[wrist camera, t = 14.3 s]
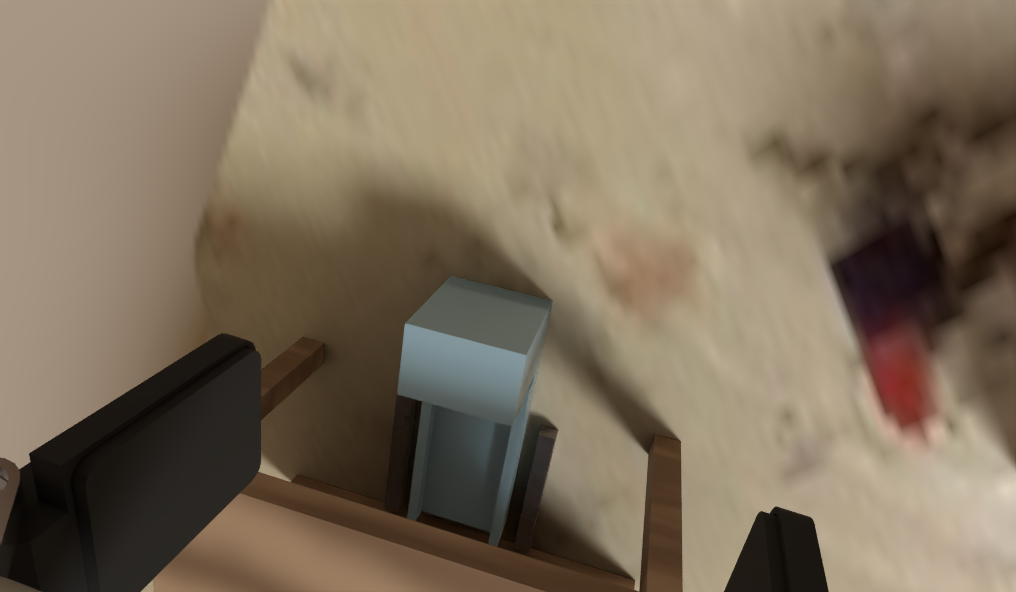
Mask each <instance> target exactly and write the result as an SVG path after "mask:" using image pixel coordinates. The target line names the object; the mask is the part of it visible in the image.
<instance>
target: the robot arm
mask: <svg viewBox="0 0 1016 592" xmlns="http://www.w3.org/2000/svg"><path fill="white" fill-rule="evenodd" d="M29 456H30V461H31V462H30V463H29V464H27V465H25V466H24V467H23V468H21V469H18V467H17V466H16V464H15V463H13V462H11V461H9V460H7V459H5V458H0V592H141V591H142V590H143V589H144V588H145V587H146V586H147V585H148V584H149V583H150V582H151V581H152V580H153V579H154V578H155V577H156V576H157V575H158V574H159V573H160V572H161V571H162V570H163V569H164V568H165V567H166V566H167V565H168V564H169V563H170V562H171V561H172V560H173V559H174V558H175V557H176V556H177V555H178V554H179V553H180V552H181V551H182V550H183V549H184V548H185V547H186V546H187V545H188V544H189V543H190V542H191V541H192V540H193V539H194V538H195V537H196V536H197V535H198V534H199V533H200V532H201V531H202V530H203V529H204V528H205V527H206V526H207V525H208V524H209V523H210V522H211V521H212V520H213V519H214V518H215V517H216V516H217V515H218V514H219V513H220V512H221V511H222V510H223V509H224V508H225V507H226V506H227V505H228V504H229V503H230V502H231V501H232V500H233V499H234V498H235V497H236V496H237V495H238V494H239V493H240V492H241V491H242V490H244V489H245V488H246V487H247V486H248V485H249V484H250V483H251V482H252V480H253V479H254V478H255V476H256V475H257V473H258V471H259V468H260V464H261V356H260V354H259V352H257V351H256V350H255V346H254V344H253V343H252V342H250V341H248V340H244V339H241V338H238V337H235V336H232V335H229V334H220V335H217V336H216V337H214V338H213V339H211V340H209V341H208V342H206V343H205V344H203V345H201V346H200V347H198V348H197V349H195V350H193V351H192V352H190V353H189V354H187V355H185V356H184V357H182V358H181V359H179V360H177V361H176V362H174V363H173V364H171V365H170V366H168V367H166V368H165V369H163V370H162V371H160V372H159V373H157V374H155V375H154V376H152V377H150V378H149V379H147V380H146V381H144V382H143V383H141V384H139V385H138V386H136V387H134V388H133V389H131V390H130V391H128V392H126V393H125V394H123V395H122V396H120V397H118V398H117V399H115V400H114V401H112V402H110V403H109V404H107V405H106V406H104V407H103V408H101V409H99V410H98V411H96V412H95V413H93V414H91V415H90V416H88V417H87V418H85V419H83V420H82V421H80V422H79V423H77V424H75V425H74V426H72V427H71V428H69V429H67V430H66V431H64V432H63V433H61V434H60V435H58V436H56V437H55V438H53V439H52V440H50V441H48V442H47V443H45V444H44V445H42V446H40V447H39V448H37V449H36V450H34V451H32V452H31V453H29ZM724 592H829V591H828V586H827V582H826V577H825V572H824V567H823V563H822V558H821V553H820V548H819V543H818V539H817V534H816V529H815V524H814V521H813V519H812V518H811V517H808V516H805V515H802V514H798V513H795V512H792V511H789V510H786V509H783V508H779V507H774V508H773V509H772V511H771V512H770V514H769V513H765V512H762V511H761V512H759V513H758V515H757V517H756V519H755V521H754V524H753V526H752V528H751V531H750V533H749V535H748V537H747V540H746V542H745V544H744V547H743V549H742V551H741V554H740V556H739V558H738V561H737V563H736V565H735V567H734V570H733V572H732V574H731V577H730V579H729V581H728V584H727V586H726V588H725V591H724Z"/></svg>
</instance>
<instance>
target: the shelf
mask: <svg viewBox="0 0 1016 592" xmlns="http://www.w3.org/2000/svg"><path fill="white" fill-rule="evenodd" d="M323 354H324V343H321V342H318V341H314V340H310V339H307V338H303V337H302V338H301V339H300V340H299V341H297V342H296V343H295V344H293V345H292V346H291V347H290V348H288V349H287V350H286V351H285V352H283V353H282V354H281V355H280V356H278V357H277V358H276V359H275V360H273V361H272V362H271V363H269V364H268V365H267V366H266V367H264V368H263V369H262V370H261V420H262V419H263V418H264V417H265V416H266V415H267V414H268V413H270V412H271V411H272V410H273V409H274V408H275V407H276V406H277V405H278V404H279V403H281V402H282V401H283V400H284V399H285V398H286V397H287V396H288V395H289V394H290V393H292V392H293V391H294V390H295V389H296V388H297V387H298V386H299V385H300V384H301V383H302V382H304V381H305V380H306V379H307V378H308V377H309V376H310V375H311V374H312V373H313V372H315V371H316V370H317V369H318V368H319V367H320V366H321V365H322V364H323ZM416 404H417V400H416V399H412V398H409V397H405V396H402V395H398V394H397V398H396V407H395V416H394V425H393V434H392V443H391V452H390V461H389V470H388V479H387V487H386V496H385V502H382V501H379V500H375V499H372V498H369V497H366V496H362V495H359V494H356V493H353V492H350V491H346V490H343V489H340V488H337V487H334V486H330V485H327V484H324V483H321V482H318V481H314V480H311V479H308V478H305V477H302V476H298V475H296V476H295V478H294V479H293V480H292V481H291V482H289V481H285V480H282V479H279V478H276V477H273V476H269V475H266V474H263V473H260V472H258V473H257V475H256V476H255V478H254V479H253V480H252V482H251V483H250V484H249V485H248V486H247V487H246V488H245V489H244V490H242V491H241V492H240V493H239V494H238V495H237V496H236V497H235V498H234V499H233V500H232V501H231V502H230V503H229V504H228V505H227V506H226V507H225V508H224V509H223V510H222V511H221V512H220V513H219V514H218V515H217V516H216V517H215V518H214V519H213V520H212V521H211V522H210V523H209V524H208V525H207V526H206V527H205V528H204V529H203V530H202V531H201V532H200V533H199V534H198V535H197V536H196V537H195V538H194V539H193V540H192V541H191V542H190V543H189V544H188V545H187V546H186V547H185V548H184V549H183V550H182V551H181V552H180V553H179V554H178V555H177V556H176V557H175V558H174V559H173V560H172V561H171V562H170V563H169V564H168V565H167V566H166V567H165V568H164V569H163V570H162V571H161V572H160V573H159V574H158V575H157V576H156V577H155V578H154V579H153V585H154V592H683V587H682V502H681V441H677V440H673V439H670V438H666V437H663V436H659V435H655V436H654V439H653V442H652V446H651V449H650V452H649V456H648V471H647V486H646V501H645V516H644V531H643V546H642V561H641V576H640V591H635V590H634V586H635V580H632V579H629V578H625V577H622V576H619V575H616V574H613V573H609V572H606V571H603V570H600V569H597V568H593V567H590V566H587V565H584V564H581V563H577V562H574V561H571V560H568V559H564V558H561V557H558V556H555V555H552V554H548V553H545V552H542V551H539V550H536V549H532V548H530V546H531V542H532V538H533V534H534V530H535V525H536V521H537V517H538V513H539V508H540V504H541V500H542V496H543V492H544V487H545V483H546V479H547V475H548V470H549V466H550V462H551V458H552V453H553V449H554V445H555V441H556V436H557V432H558V430H557V429H553V428H550V427H546V426H543V425H542V427H541V430H540V432H539V436H538V440H537V445H536V449H535V454H534V458H533V463H532V467H531V472H530V476H529V481H528V485H527V490H526V494H525V499H524V503H523V508H522V512H521V517H520V521H519V526H518V530H517V535H516V539H515V543H513V542H510V541H507V540H504V539H500V540H499V543H498V546H494V545H490V544H488V542H489V536H490V535H488V534H484V533H481V532H478V531H475V530H472V529H468V528H465V527H462V526H459V525H455V524H452V523H449V522H446V521H443V520H439V519H436V518H433V517H430V516H427V515H423V514H420V515H419V517H418V518H417V520H416V521H414V520H410V519H407V515H408V510H407V509H404V508H401V507H402V505H403V503H404V498H405V490H406V482H407V474H408V466H409V458H410V451H411V443H412V435H413V427H414V419H415V411H416Z"/></svg>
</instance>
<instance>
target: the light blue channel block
mask: <svg viewBox="0 0 1016 592" xmlns="http://www.w3.org/2000/svg"><path fill="white" fill-rule="evenodd" d="M551 306H552V300H548V299H544V298H540V297H536V296H532V295H528V294H524V293H520V292H516V291H512V290H508V289H504V288H500V287H496V286H492V285H488V284H484V283H480V282H476V281H472V280H468V279H463V278H459V277H455V276H450V277H449V278H448V279H447V280H446V281H445V282H444V283H443V284H442V285H441V286H440V287H439V288H438V289H437V291H436V292H435V293H434V294H433V295H432V296H431V297H430V298H429V299H428V300H427V301H426V302H425V303H424V304H423V305H422V306H421V307H420V308H419V309H418V310H417V311H416V312H415V313H414V314H413V315H412V316H411V318H410V319H409V320H408V321H407V322H406V323H405V327H404V336H403V345H402V354H401V363H400V372H399V382H398V391H397V394H398V395H402V396H405V397H409V398H412V399H416V400H419V401H422V407H421V415H420V423H419V431H418V438H417V446H416V454H415V461H414V469H413V477H412V485H411V492H410V500H409V508H408V515H407V519H410V520H414V521H416V520H417V518H418V517H419V515H420V513H421V511H424V512H427V513H430V514H433V515H436V516H440V517H443V518H446V519H449V520H453V521H456V522H459V523H462V524H465V525H469V526H472V527H475V528H478V529H482V530H485V531H488V532H490V536H489V542H488V544H490V545H494V546H498V543H499V540H500V537H501V535H502V532H503V529H504V526H505V523H506V521H507V516H508V511H509V507H510V502H511V497H512V492H513V487H514V483H515V478H516V473H517V468H518V464H519V459H520V454H521V449H522V444H523V440H524V435H525V430H526V425H527V421H528V416H529V411H530V406H531V401H532V397H533V392H534V387H535V382H536V378H537V373H538V368H539V363H540V358H541V354H542V349H543V344H544V339H545V334H546V330H547V325H548V320H549V315H550V311H551Z"/></svg>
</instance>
